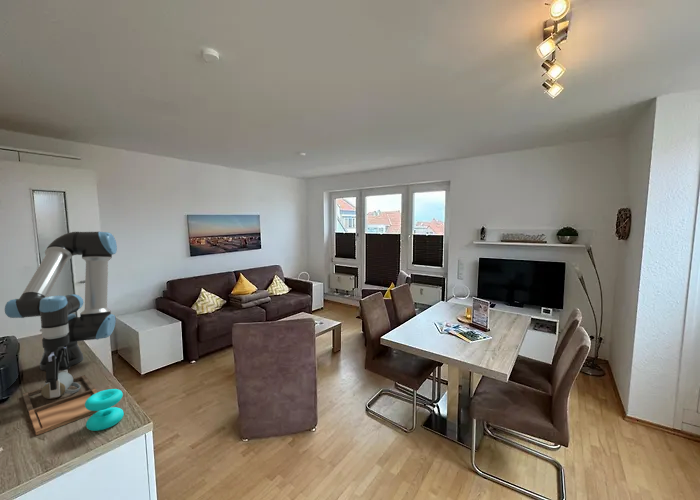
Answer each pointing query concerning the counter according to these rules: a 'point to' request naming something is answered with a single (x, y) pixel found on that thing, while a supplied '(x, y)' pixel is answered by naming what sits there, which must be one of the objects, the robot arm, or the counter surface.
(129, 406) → the counter surface
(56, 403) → the tray
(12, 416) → the counter surface
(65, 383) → the ceramic mug
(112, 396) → the donuts
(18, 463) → the counter surface
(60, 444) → the counter surface
